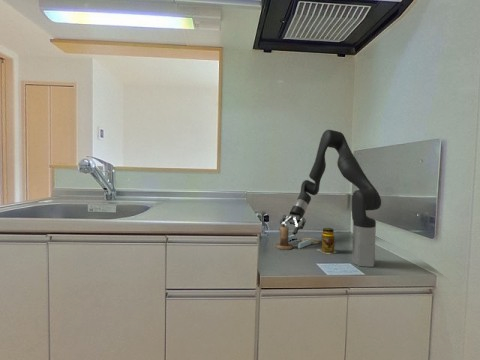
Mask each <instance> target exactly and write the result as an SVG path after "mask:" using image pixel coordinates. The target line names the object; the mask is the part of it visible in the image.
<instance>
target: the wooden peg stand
mask: <svg viewBox="0 0 480 360" xmlns="http://www.w3.org/2000/svg"><path fill="white" fill-rule="evenodd" d="M279 229H280V230H279V242H278V243H276V244H275V248H276V249H277V248H278V249H277V250H280V249H282V250H283V251H288V250H289V251H290V250H292V249H294V247H293V244H292V243H290V242H289V241H288V236H289V227H288V226H287V225H286V226H281V225H280V227H279ZM282 250H281V251H282Z"/></svg>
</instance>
